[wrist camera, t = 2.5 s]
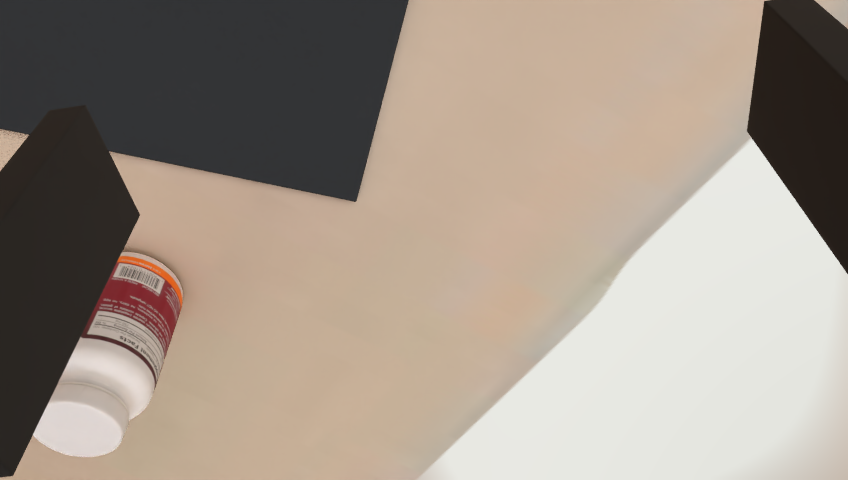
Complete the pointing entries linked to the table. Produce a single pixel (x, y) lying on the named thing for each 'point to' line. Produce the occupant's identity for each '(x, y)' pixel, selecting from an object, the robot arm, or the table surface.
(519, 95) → the table surface
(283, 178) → the mat
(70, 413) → the pill bottle
